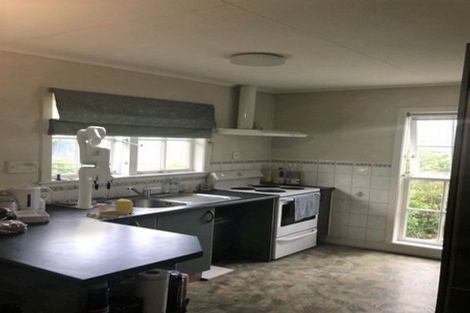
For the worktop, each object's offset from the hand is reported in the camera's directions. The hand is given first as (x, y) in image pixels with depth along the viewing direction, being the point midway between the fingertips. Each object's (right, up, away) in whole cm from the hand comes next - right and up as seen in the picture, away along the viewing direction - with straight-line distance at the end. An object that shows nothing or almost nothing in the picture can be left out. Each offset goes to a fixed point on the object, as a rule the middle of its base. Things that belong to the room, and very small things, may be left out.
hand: (102, 189), depth 318 cm
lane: (+1, -19, -1) cm, 19 cm away
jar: (0, -19, 0) cm, 19 cm away
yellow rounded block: (+11, -19, +17) cm, 28 cm away
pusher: (+3, -19, -2) cm, 19 cm away
